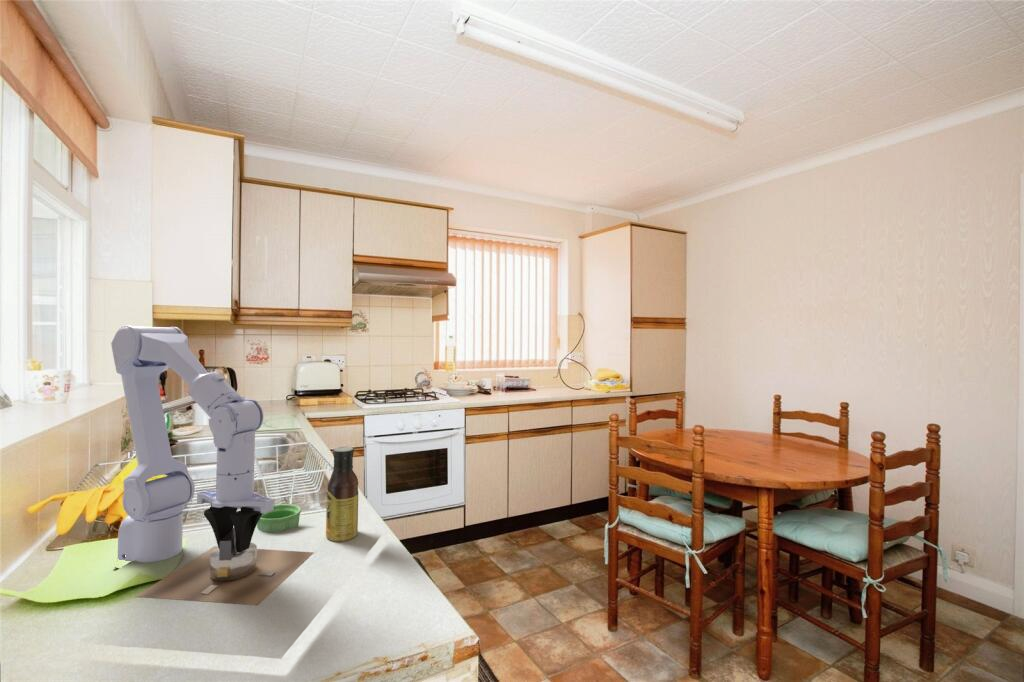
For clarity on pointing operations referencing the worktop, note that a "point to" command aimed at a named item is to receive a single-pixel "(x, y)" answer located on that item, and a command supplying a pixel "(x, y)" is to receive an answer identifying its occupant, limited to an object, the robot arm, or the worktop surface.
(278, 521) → the ramekin
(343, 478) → the sauce bottle
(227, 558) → the silver rounded piece
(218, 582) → the baseplate
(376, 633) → the worktop surface
